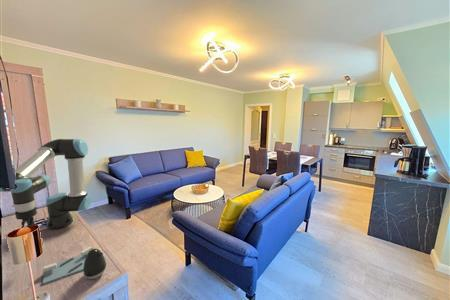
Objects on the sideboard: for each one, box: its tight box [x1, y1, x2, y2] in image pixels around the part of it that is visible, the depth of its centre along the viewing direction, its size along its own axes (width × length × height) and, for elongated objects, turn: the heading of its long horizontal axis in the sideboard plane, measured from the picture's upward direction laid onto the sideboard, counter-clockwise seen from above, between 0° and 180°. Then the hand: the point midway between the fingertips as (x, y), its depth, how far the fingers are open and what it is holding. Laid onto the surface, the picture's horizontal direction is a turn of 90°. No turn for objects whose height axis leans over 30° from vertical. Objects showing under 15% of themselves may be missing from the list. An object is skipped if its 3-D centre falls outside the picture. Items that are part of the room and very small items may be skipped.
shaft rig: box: [42, 246, 94, 286], centre depth 107 cm, size 13×22×5 cm, turn 126°
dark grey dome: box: [82, 248, 107, 280], centre depth 102 cm, size 10×10×15 cm
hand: (32, 248), depth 103 cm, fingers closed on coupler, 6 cm apart
